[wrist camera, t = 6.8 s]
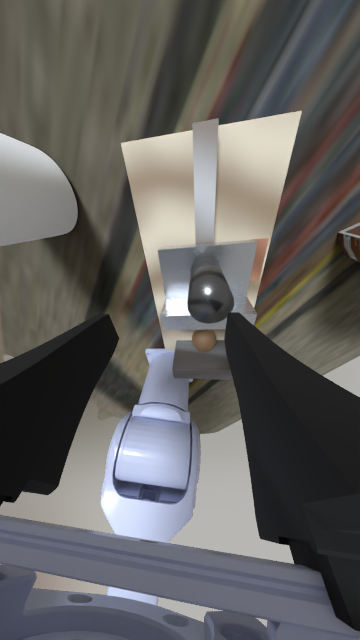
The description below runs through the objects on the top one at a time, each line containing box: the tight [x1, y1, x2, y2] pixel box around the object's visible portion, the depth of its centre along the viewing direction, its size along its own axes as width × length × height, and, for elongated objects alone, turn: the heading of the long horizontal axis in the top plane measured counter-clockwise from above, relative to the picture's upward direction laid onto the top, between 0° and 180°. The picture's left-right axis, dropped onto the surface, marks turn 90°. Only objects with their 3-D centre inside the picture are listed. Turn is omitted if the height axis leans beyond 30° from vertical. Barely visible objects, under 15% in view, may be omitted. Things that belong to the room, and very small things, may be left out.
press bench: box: [121, 111, 302, 380], centre depth 15 cm, size 22×12×6 cm, turn 5°
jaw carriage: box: [157, 240, 257, 330], centre depth 12 cm, size 6×8×7 cm
